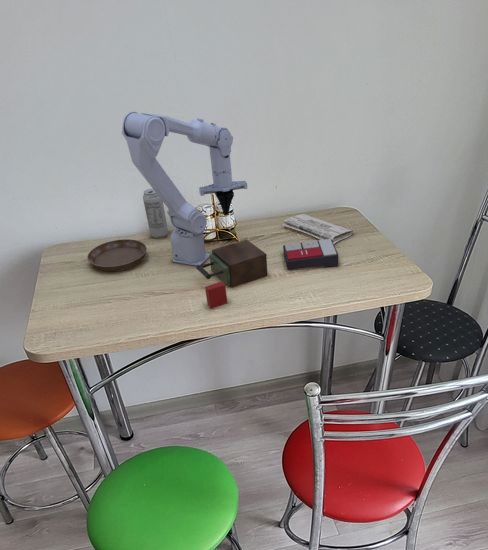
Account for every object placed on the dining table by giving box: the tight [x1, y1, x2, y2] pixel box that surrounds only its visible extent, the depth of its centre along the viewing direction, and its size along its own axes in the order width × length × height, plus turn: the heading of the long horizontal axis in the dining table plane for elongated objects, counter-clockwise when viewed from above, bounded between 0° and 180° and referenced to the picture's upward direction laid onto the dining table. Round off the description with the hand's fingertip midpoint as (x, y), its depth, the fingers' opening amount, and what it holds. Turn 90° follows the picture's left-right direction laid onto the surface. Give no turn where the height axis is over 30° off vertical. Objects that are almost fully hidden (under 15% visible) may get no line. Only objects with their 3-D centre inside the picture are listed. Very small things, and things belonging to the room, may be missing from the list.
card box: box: [204, 280, 228, 309], centre depth 126 cm, size 5×2×6 cm, turn 121°
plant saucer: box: [86, 238, 148, 272], centre depth 149 cm, size 18×18×3 cm
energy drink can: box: [142, 188, 169, 239], centre depth 159 cm, size 6×6×15 cm
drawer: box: [195, 253, 231, 286], centre depth 136 cm, size 16×10×5 cm, turn 121°
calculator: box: [282, 239, 339, 271], centre depth 144 cm, size 11×4×15 cm
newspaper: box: [281, 213, 354, 245], centre depth 161 cm, size 23×12×2 cm, turn 43°
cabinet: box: [211, 239, 268, 288], centre depth 138 cm, size 11×11×7 cm
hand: (226, 214), depth 151 cm, fingers closed
